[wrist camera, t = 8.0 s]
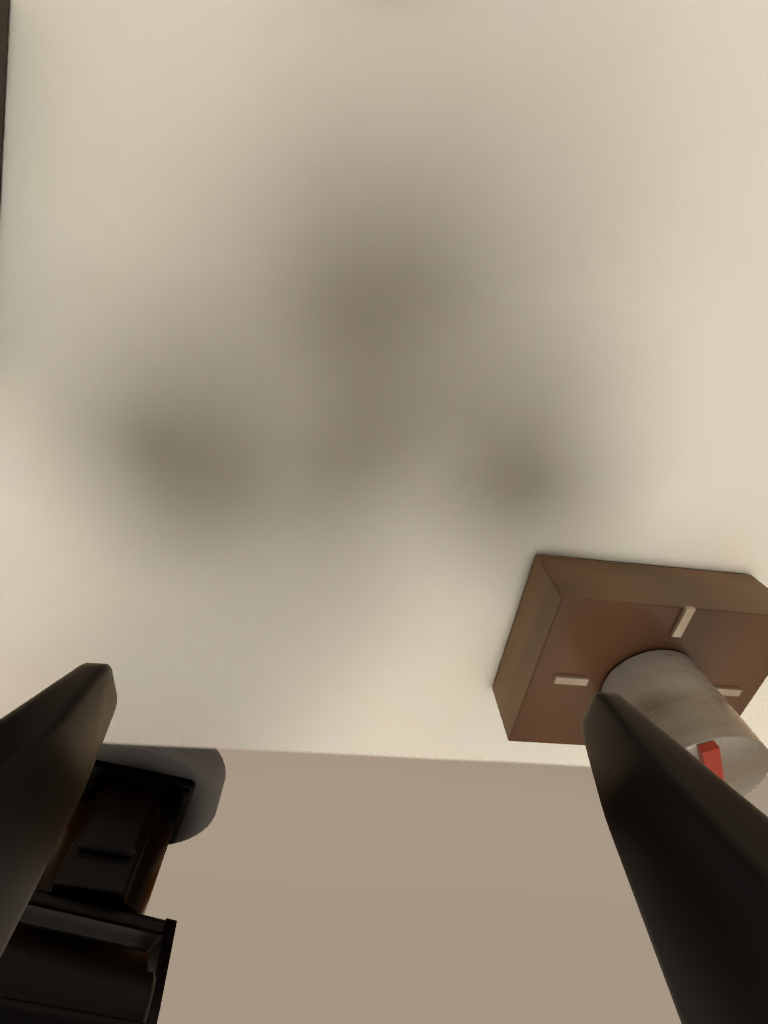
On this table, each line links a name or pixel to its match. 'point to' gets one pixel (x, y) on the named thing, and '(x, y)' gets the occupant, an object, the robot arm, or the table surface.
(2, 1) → the block
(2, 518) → the table surface
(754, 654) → the panel
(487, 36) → the table surface
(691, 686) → the heat knob
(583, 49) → the table surface
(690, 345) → the table surface
